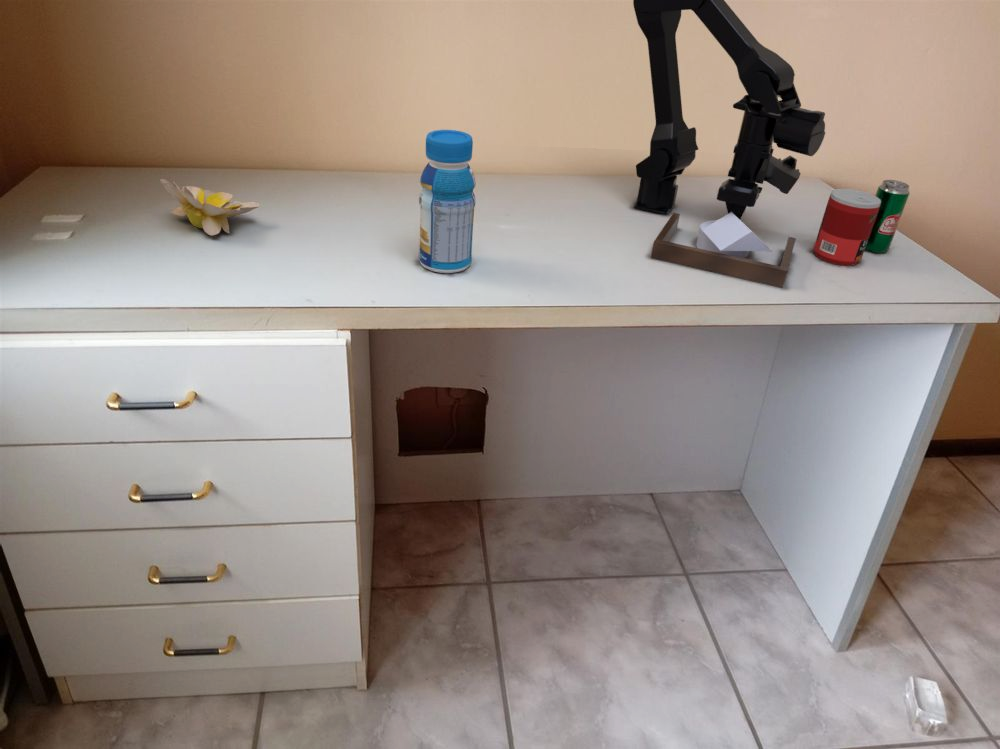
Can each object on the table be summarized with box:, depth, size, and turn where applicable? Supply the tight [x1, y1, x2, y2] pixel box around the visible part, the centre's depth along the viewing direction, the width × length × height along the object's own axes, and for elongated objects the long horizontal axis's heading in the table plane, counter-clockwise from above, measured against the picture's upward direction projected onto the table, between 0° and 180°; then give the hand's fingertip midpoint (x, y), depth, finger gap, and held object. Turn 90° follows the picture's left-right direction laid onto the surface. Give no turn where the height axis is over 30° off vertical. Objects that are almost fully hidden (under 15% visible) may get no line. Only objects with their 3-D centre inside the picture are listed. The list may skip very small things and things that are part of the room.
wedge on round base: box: [695, 212, 773, 259], centre depth 132 cm, size 9×7×13 cm
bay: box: [650, 212, 797, 288], centre depth 132 cm, size 21×15×3 cm
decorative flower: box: [159, 178, 261, 236], centre depth 126 cm, size 15×11×10 cm
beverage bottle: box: [418, 129, 477, 274], centre depth 117 cm, size 8×8×20 cm
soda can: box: [864, 179, 910, 254], centre depth 137 cm, size 5×5×12 cm
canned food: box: [813, 188, 881, 267], centre depth 132 cm, size 8×8×11 cm
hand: (733, 227), depth 140 cm, fingers closed
